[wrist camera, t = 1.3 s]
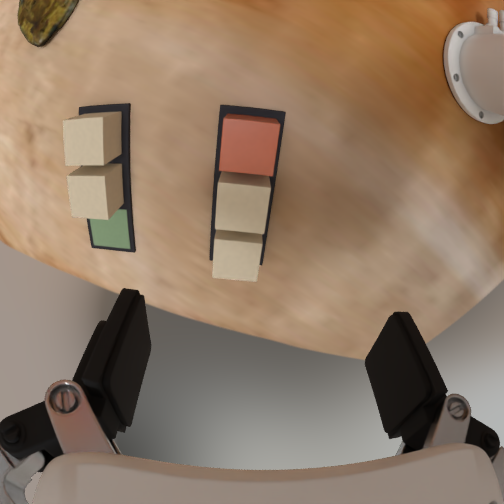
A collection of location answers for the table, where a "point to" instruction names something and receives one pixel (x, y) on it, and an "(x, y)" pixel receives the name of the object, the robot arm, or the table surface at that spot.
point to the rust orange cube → (249, 144)
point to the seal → (43, 18)
